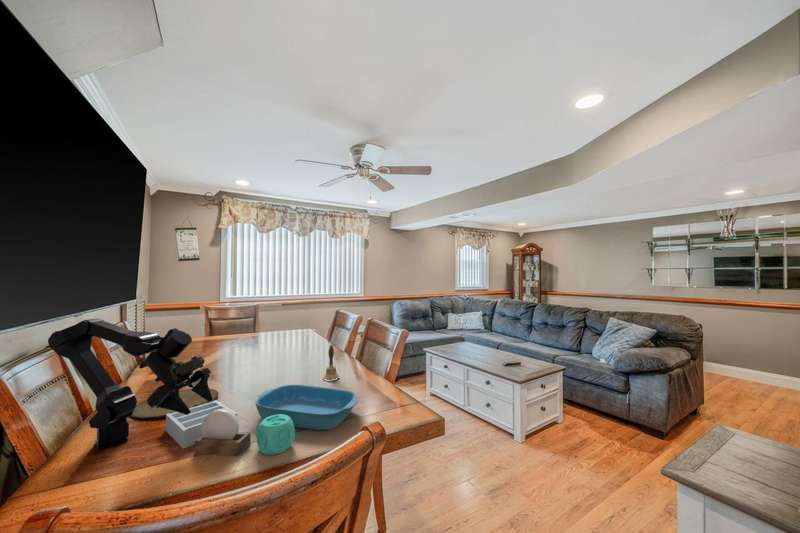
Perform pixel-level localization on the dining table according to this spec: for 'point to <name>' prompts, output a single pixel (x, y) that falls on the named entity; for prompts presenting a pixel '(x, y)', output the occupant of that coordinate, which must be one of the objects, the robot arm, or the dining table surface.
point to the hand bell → (331, 366)
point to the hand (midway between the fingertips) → (200, 406)
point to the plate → (220, 425)
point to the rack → (190, 423)
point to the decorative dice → (275, 434)
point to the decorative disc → (147, 412)
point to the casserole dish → (307, 405)
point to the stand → (223, 445)
